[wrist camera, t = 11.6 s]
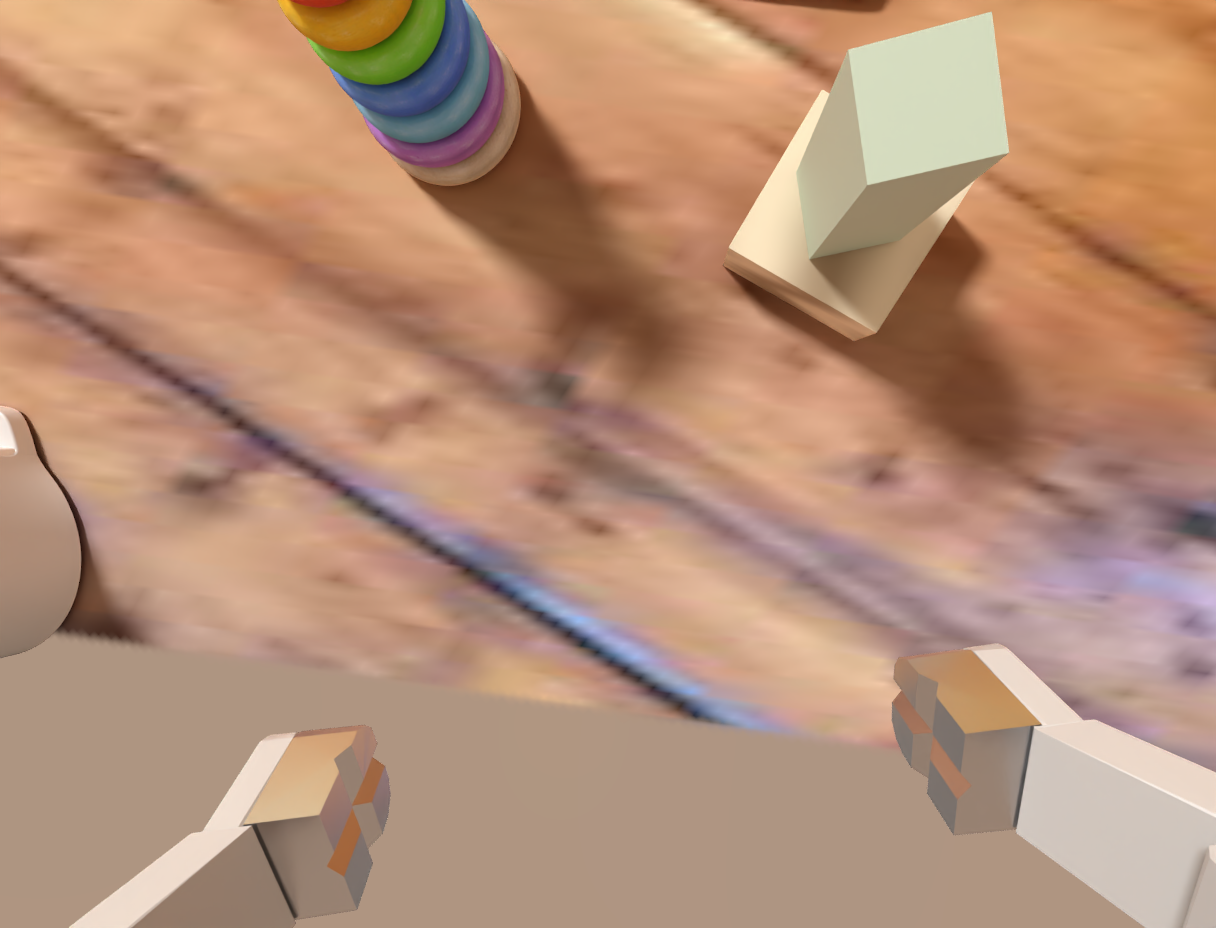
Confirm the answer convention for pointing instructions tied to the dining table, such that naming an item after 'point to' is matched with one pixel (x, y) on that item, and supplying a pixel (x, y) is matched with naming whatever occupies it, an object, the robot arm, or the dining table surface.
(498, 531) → the dining table surface
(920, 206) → the pillar
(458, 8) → the stacking toy
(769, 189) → the base block
